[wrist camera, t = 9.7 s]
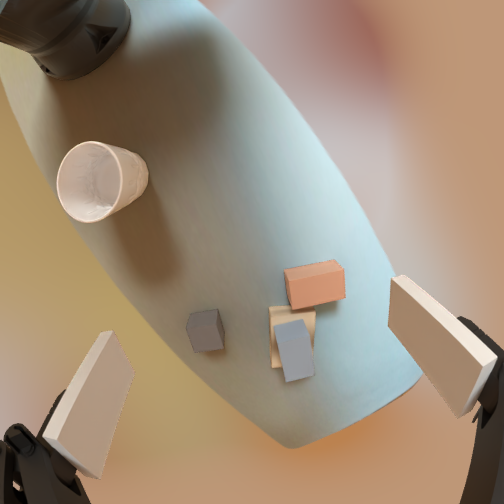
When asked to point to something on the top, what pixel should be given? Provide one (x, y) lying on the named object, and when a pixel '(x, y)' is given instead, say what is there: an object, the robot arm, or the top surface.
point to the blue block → (295, 350)
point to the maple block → (284, 316)
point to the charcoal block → (205, 331)
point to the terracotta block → (315, 284)
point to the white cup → (99, 180)
